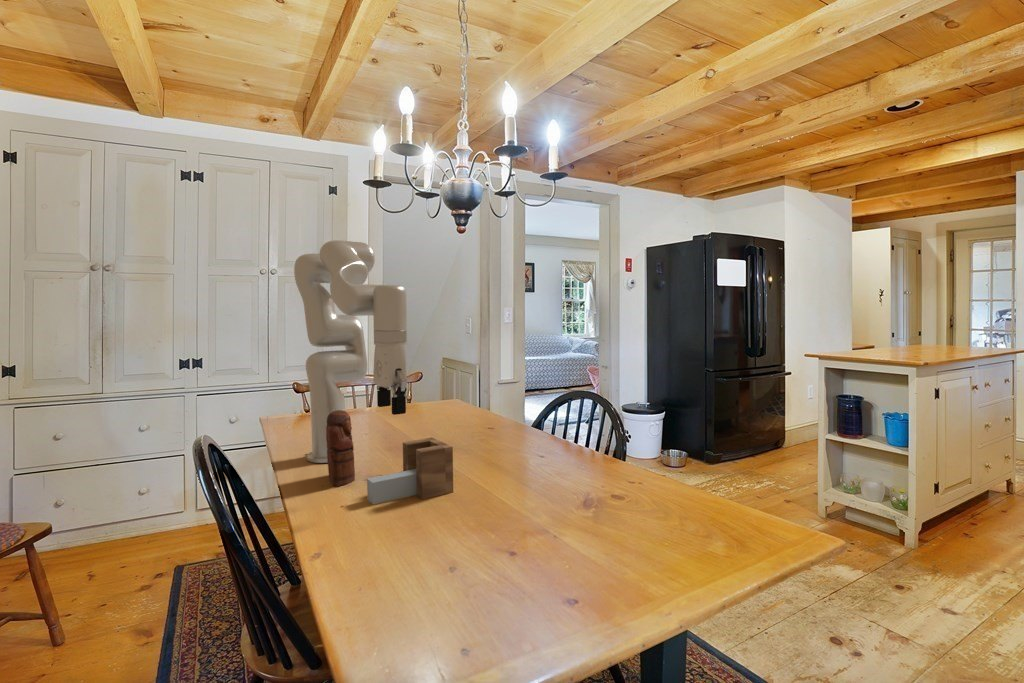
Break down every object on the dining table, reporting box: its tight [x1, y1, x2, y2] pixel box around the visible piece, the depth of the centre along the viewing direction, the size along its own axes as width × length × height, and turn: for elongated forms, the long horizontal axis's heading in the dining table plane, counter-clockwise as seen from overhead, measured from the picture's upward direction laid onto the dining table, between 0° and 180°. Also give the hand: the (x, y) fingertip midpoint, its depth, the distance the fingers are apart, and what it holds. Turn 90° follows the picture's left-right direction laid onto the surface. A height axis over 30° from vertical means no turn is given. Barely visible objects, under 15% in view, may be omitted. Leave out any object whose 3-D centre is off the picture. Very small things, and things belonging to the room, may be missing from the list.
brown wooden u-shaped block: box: [402, 437, 454, 500], centre depth 125 cm, size 11×8×11 cm
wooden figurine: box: [326, 410, 356, 487], centre depth 132 cm, size 12×6×18 cm, turn 25°
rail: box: [366, 469, 417, 505], centre depth 121 cm, size 4×15×6 cm, turn 125°
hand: (391, 410), depth 122 cm, fingers open, 9 cm apart
